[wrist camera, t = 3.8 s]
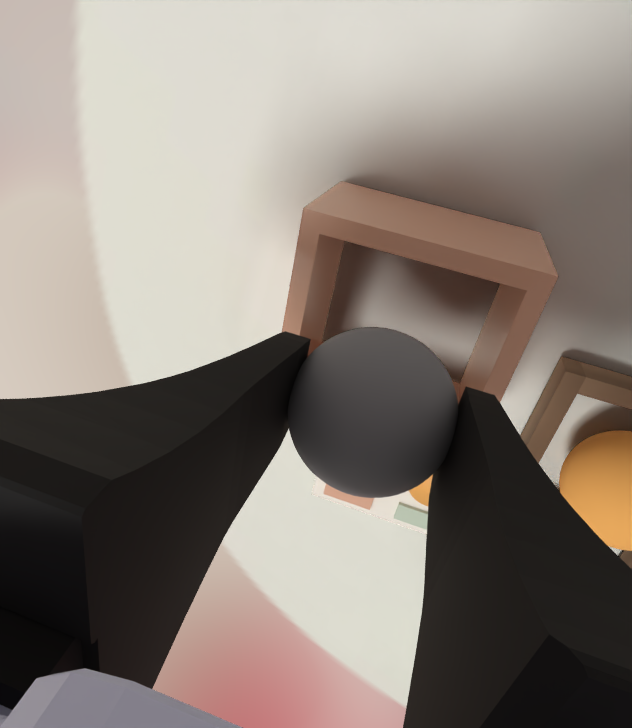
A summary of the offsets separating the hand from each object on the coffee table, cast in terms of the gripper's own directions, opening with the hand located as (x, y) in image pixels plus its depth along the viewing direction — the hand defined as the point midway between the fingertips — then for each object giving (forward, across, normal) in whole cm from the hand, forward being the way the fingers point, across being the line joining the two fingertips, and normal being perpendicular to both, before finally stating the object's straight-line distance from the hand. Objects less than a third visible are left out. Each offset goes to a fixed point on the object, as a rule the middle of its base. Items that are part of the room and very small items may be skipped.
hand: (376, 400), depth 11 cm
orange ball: (+5, -8, +3) cm, 10 cm away
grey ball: (0, 0, 0) cm, 0 cm away
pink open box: (+6, 0, 0) cm, 6 cm away
